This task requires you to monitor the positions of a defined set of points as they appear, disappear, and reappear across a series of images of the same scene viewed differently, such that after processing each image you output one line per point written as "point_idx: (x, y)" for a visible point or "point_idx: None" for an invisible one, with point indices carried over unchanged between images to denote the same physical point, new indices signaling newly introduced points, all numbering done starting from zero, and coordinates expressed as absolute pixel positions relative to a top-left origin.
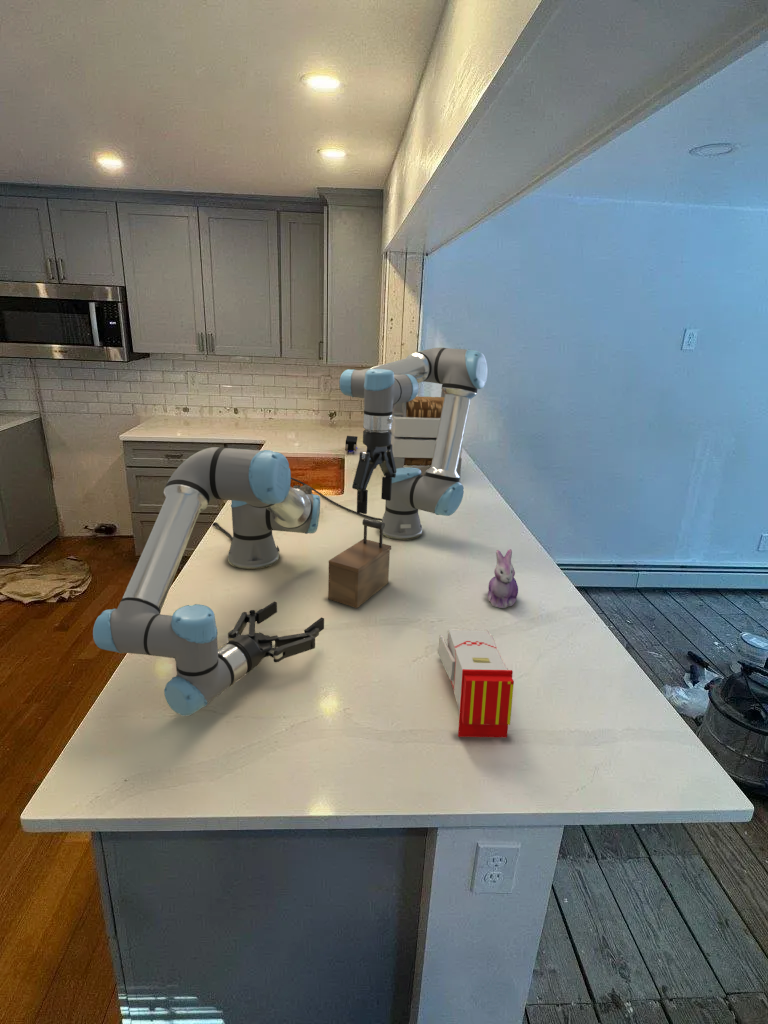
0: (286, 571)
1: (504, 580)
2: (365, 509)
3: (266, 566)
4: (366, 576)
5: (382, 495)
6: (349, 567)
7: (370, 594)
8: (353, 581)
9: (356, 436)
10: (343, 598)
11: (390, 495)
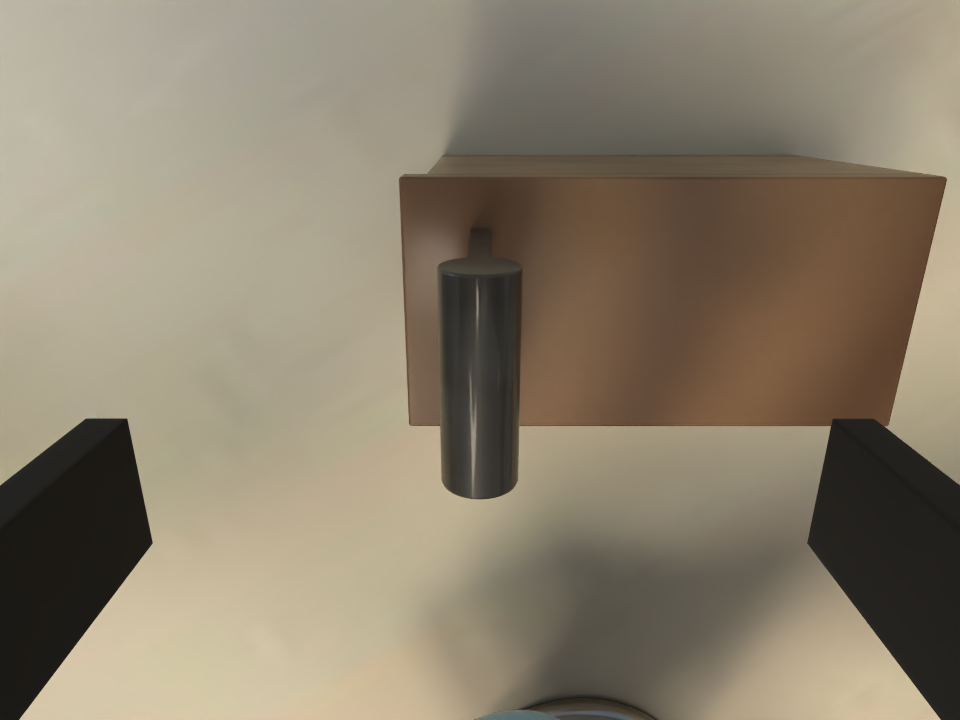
0: (605, 624)
1: None
2: (918, 455)
3: (620, 705)
4: (767, 167)
5: (122, 565)
6: (922, 255)
7: (657, 156)
8: None
9: None
10: None
11: (58, 458)
